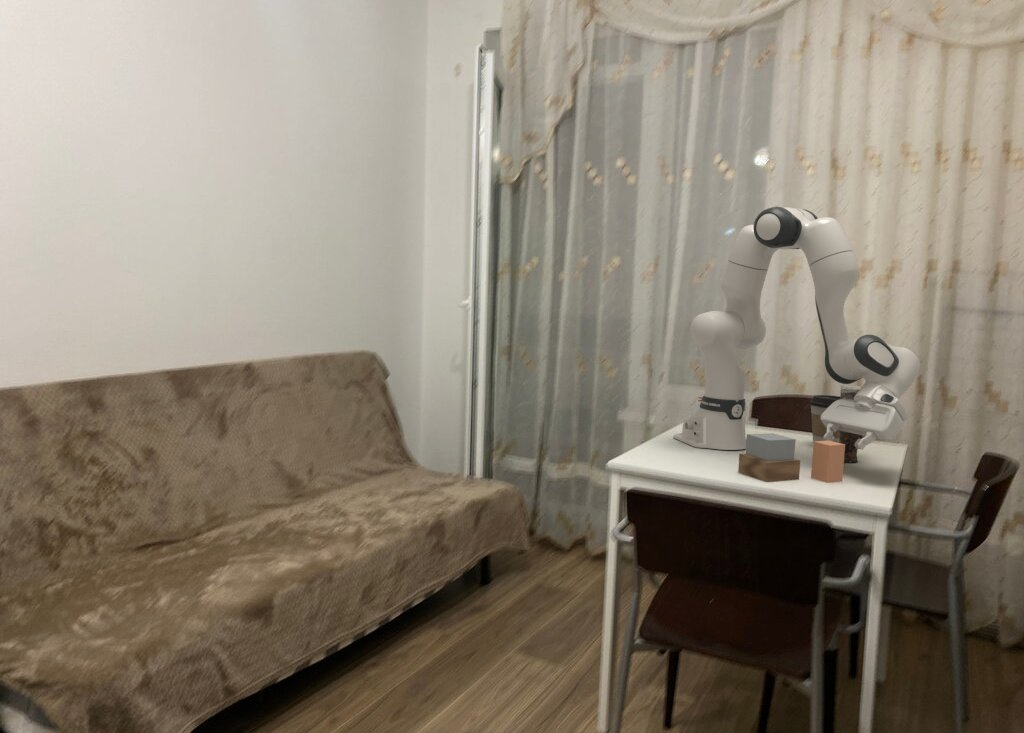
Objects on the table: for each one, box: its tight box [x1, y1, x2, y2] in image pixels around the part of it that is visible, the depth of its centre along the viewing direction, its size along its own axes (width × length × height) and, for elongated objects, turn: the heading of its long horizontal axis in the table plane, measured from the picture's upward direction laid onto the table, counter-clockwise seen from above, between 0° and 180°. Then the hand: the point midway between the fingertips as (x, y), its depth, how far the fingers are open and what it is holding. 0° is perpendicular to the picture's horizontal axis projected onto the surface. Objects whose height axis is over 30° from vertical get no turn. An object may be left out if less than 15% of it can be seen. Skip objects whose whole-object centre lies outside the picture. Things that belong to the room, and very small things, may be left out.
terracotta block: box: [810, 441, 845, 484], centre depth 191 cm, size 5×5×9 cm
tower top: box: [744, 432, 797, 461], centre depth 192 cm, size 8×8×5 cm
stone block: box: [839, 384, 863, 463], centre depth 217 cm, size 13×7×20 cm, turn 162°
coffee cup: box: [808, 394, 840, 444], centre depth 233 cm, size 11×11×15 cm
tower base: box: [737, 453, 801, 483], centre depth 193 cm, size 10×10×5 cm
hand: (841, 443), depth 193 cm, fingers open, 8 cm apart
